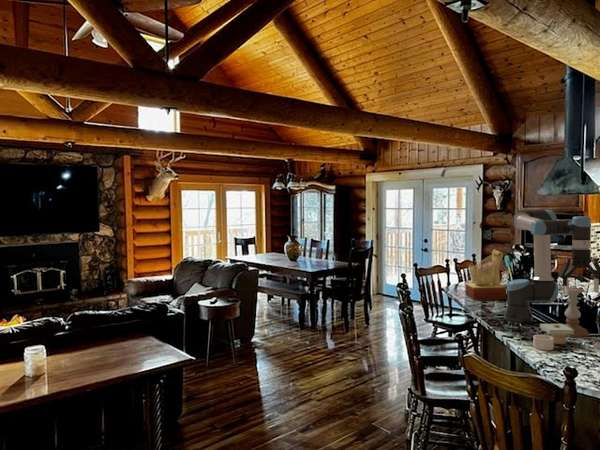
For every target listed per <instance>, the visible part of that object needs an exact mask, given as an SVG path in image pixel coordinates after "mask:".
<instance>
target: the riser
mask: <svg viewBox="0 0 600 450" xmlns="http://www.w3.org/2000/svg"><path fill="white" fill-rule="evenodd" d="M546 335H548V336H551V337H553V338H554V345H555V344H556V345H557V344H558V345H559V344H560V345H561V344H566V343H567V339H566V337H567V336H566V334H549V333H547V332H546Z"/></svg>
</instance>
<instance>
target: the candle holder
mask: <svg viewBox="0 0 600 450" xmlns="http://www.w3.org/2000/svg"><path fill="white" fill-rule="evenodd" d="M560 290H561V291H563V292H565V286H564V287H561V289H560ZM584 292H585V289H583V288H580V287H572V286H569V293H566V294H567V295H568V299H566V302H567V303H568V307H567V308H566V309H565V311H564V316H565V317H566V319H565V323H564V325H566V326H567V327H569V328H571V329H573V330H574V334H566V337H568V338H587V337H590V335H591V334H590V332H588V329H587V328H584V327H582V326H581V325H580V320H579V318H581V315H582V314H581V312H580V310H579V309H578V307H577V305H578V303H579V300H578V298H577V297H578V295H579V294H580V293H584Z"/></svg>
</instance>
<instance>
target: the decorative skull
mask: <svg viewBox="0 0 600 450" xmlns="http://www.w3.org/2000/svg"><path fill="white" fill-rule="evenodd" d="M488 262H489V263H490V264H491V263H492V261H491V262H490V261H488ZM488 262H487V263H484V264H488V265H485V266H484V264H483V263H482V264H483V265H482V264H481V265H482V266H484V268H485V267H486V268H487V274H486V270H485V274H486V275H489V274H488V273H489V272H488V269H489V265H490V264H489V263H488ZM482 266H481V268H480V269H481V270H482V268H483V267H482ZM487 266H488V267H487ZM484 268H483V270H484ZM490 268H491V269H492V267H490ZM491 269H490V270H491ZM483 270H482V271H483ZM490 270H489V271H490ZM480 272H481V271H480ZM491 274H492V273H491ZM491 274H490V275H491ZM499 274H500V284H501V283H502V282H501V281H502V279H503V273H502V271H501V269H500V267H499ZM491 276H492V275H491Z"/></svg>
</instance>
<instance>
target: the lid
mask: <svg viewBox="0 0 600 450" xmlns="http://www.w3.org/2000/svg"><path fill="white" fill-rule="evenodd" d="M539 328H540V329H541V330H542V331H544V332H545V333H546V334H547V333H549V334H574V330H573V329H571V328H569V327H567V326H566V325H565V323H564V324H563V323H539Z"/></svg>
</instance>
